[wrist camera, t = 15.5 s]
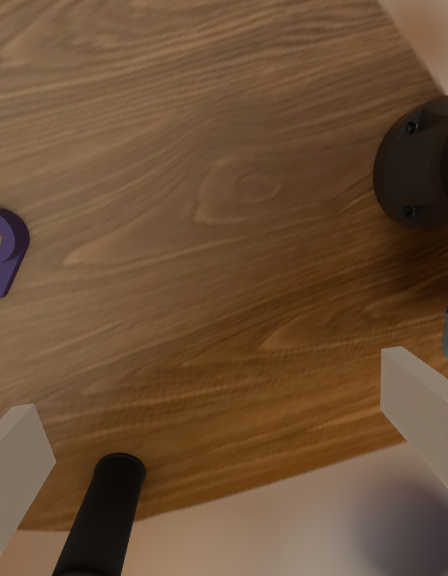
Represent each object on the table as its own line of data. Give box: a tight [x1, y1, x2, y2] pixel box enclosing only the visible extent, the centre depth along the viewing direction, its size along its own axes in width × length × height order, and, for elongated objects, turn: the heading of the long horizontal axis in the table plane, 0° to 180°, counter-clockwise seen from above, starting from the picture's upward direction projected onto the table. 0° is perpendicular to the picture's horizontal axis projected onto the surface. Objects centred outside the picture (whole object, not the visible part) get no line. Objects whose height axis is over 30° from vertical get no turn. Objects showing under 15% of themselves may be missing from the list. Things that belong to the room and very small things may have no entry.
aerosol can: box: [52, 453, 146, 576], centre depth 37 cm, size 8×8×20 cm
